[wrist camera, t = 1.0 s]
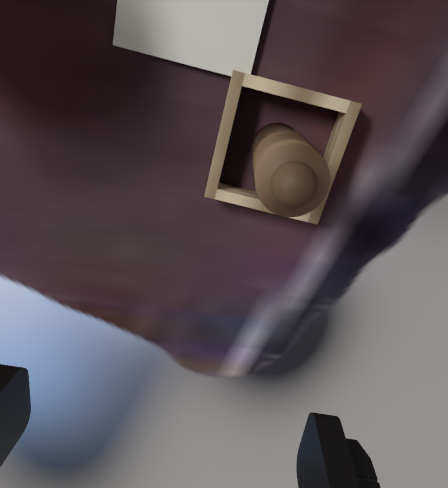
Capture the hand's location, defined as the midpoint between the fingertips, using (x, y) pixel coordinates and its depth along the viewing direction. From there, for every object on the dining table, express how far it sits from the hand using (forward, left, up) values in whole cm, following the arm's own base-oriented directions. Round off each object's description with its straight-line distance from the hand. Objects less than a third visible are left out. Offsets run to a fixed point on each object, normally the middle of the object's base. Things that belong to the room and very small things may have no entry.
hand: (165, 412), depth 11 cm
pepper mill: (+4, +4, -28) cm, 29 cm away
